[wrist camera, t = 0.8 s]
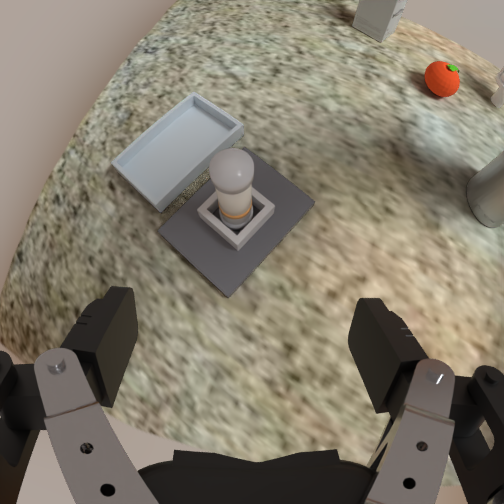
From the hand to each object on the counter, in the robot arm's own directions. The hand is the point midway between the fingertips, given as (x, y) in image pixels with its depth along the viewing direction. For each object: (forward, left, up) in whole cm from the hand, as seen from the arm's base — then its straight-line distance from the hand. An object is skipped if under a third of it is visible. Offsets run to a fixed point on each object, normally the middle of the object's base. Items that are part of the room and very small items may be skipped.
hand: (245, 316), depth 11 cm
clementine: (-54, -1, -27) cm, 61 cm away
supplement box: (-60, -19, -27) cm, 69 cm away
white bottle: (-9, -10, -26) cm, 29 cm away
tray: (-11, -23, -27) cm, 37 cm away
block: (-9, -10, -27) cm, 30 cm away
